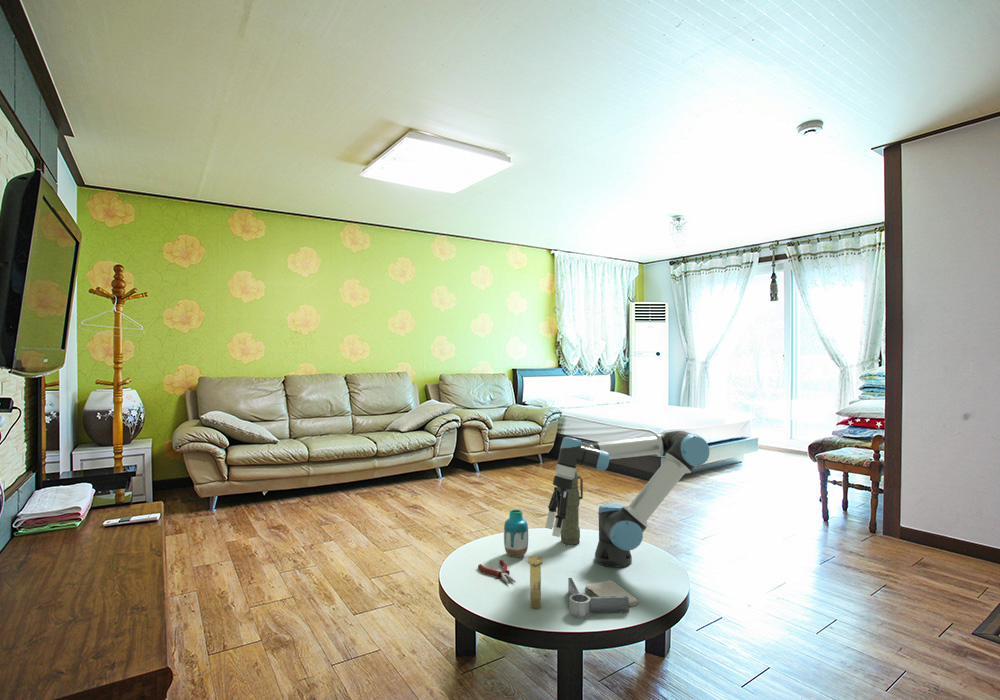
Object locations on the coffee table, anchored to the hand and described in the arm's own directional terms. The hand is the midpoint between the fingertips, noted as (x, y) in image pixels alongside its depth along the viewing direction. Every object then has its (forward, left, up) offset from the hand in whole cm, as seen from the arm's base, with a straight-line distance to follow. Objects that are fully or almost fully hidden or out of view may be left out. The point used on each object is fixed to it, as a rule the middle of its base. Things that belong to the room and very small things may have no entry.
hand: (552, 532), depth 198 cm
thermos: (-15, -40, -18) cm, 47 cm away
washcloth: (-18, +16, -19) cm, 30 cm away
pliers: (+21, -7, -19) cm, 29 cm away
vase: (+11, -26, -18) cm, 34 cm away
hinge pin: (+9, +21, -18) cm, 29 cm away
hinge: (-11, +20, -18) cm, 29 cm away
